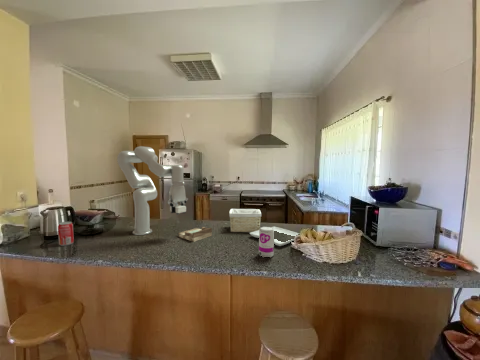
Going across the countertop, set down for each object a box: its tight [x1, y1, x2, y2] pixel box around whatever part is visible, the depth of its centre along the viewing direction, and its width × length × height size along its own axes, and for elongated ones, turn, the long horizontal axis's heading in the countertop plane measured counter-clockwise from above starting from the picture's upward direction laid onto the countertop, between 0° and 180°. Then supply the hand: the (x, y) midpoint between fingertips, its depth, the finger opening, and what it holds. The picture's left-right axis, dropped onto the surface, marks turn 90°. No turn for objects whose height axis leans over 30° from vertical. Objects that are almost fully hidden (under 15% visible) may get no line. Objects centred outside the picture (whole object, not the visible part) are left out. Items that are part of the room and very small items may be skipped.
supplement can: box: [258, 226, 275, 258], centre depth 123 cm, size 8×8×15 cm
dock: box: [177, 226, 213, 243], centre depth 153 cm, size 16×16×6 cm
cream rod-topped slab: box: [169, 202, 187, 215], centre depth 146 cm, size 10×6×6 cm, turn 51°
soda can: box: [57, 221, 75, 247], centre depth 133 cm, size 7×7×13 cm
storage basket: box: [228, 208, 262, 233], centre depth 170 cm, size 24×16×15 cm
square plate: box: [249, 226, 300, 247], centre depth 151 cm, size 27×27×4 cm
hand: (178, 211), depth 146 cm, fingers closed on cream rod-topped slab, 6 cm apart
